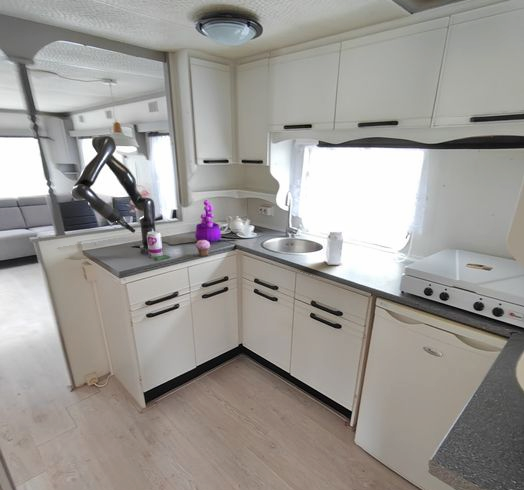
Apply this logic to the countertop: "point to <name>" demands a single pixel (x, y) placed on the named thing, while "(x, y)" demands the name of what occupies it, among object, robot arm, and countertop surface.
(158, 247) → the supplement can
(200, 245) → the cupcake
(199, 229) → the decorative plant
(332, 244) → the milk carton
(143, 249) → the saucepan
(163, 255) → the green rectangular block
